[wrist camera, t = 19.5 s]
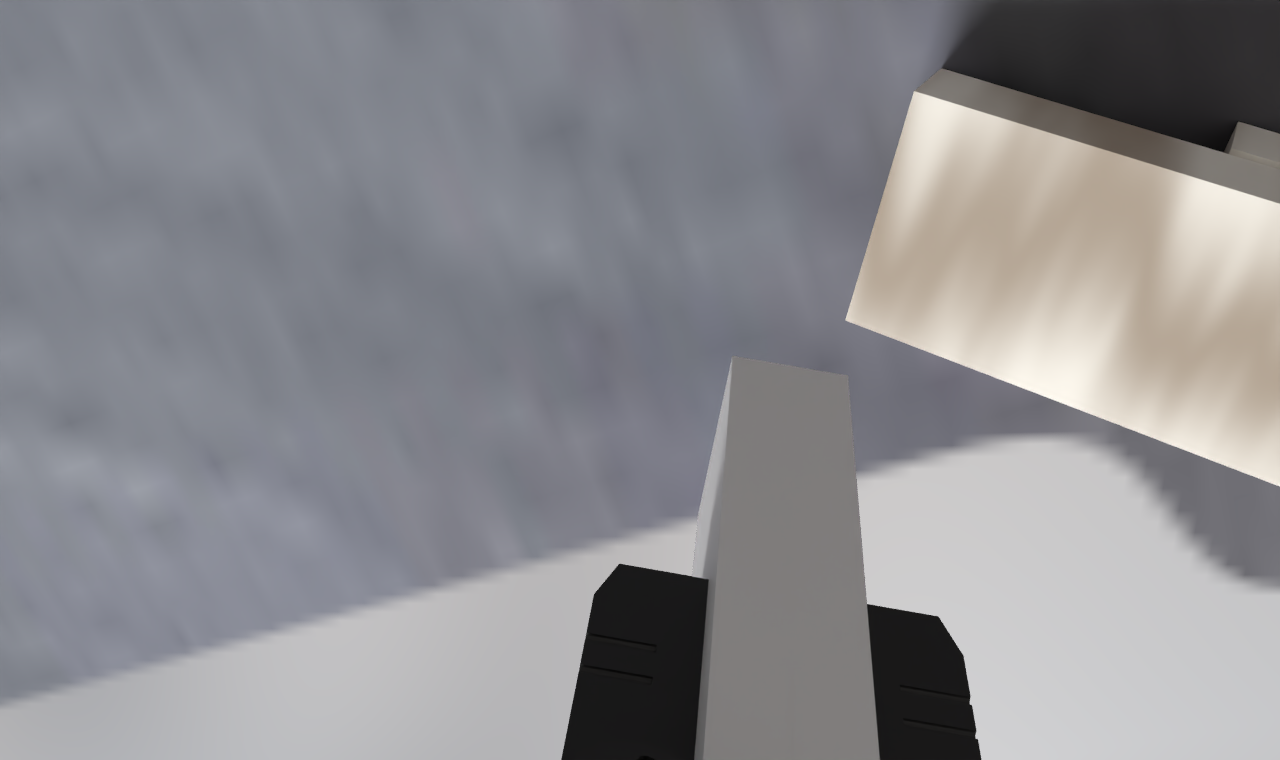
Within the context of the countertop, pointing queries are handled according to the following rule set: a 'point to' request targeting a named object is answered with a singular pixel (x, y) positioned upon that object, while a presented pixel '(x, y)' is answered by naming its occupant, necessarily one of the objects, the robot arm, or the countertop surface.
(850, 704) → the robot arm
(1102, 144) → the domino
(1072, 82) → the countertop surface
